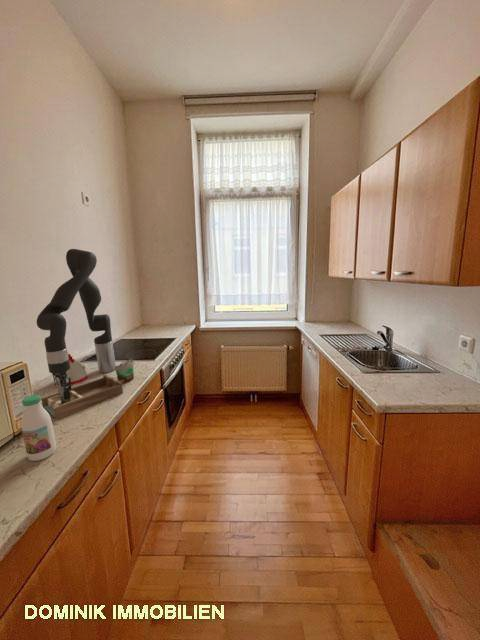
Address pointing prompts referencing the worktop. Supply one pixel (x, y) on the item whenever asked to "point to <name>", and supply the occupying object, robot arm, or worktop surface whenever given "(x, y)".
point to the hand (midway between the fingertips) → (64, 396)
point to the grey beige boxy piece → (62, 399)
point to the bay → (86, 396)
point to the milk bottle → (37, 429)
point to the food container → (125, 371)
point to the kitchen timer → (76, 371)
